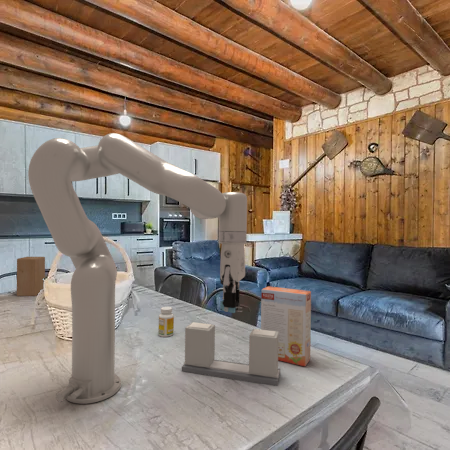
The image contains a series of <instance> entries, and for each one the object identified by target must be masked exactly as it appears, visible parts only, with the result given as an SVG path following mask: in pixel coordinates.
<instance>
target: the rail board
mask: <svg viewBox="0 0 450 450" xmlns="http://www.w3.org/2000/svg"><path fill="white" fill-rule="evenodd" d="M184 329H185V330H184V331H185V333H184V334H185V335H184V337H185V338H184V362H183V365H181V372H185V373H192V374H198V375H204V376H209V377H210V376H211V377H216V378H225V379H230V380H237V381H243V382H244V381H245V382H248V383H249V382H250V383H254V384H255V383H256V384H263V385H270V386H276V387H278V385H279V381H280V380H279V379H280V376H281V368H279V360H278V337H279V332H276V331H269V330H261V328H260V329H257V328H253V329H251V332H250V333H249V344H248V345H249V347H248V363H241V362H233V361H227V360H220V359H215V353H216V351H215V349H216V347H215V346H216V345H215V344H216V342H215V341H216V339H215V338H216V336H215V335H216V334H215V333H216V324H211V323H202V322H193V321H192V322H191V323H189V324H188V325H187V326H186V327H185V328H184Z"/></svg>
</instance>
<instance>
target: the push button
mask: <svg viewBox="0 0 450 450" xmlns="http://www.w3.org/2000/svg"><path fill="white" fill-rule="evenodd" d="M223 280H224V279H223ZM219 281H220V285H222V298H221V299H222V300H220V302H219V303H220V305H219V308H220V309H219V310H220V311H221V312H225V313H231V314H235V313H238V312H240V313H242V312H243V310H240V309H243V307H241V306H239V304H240V301H239V302H237V301H236V307H235V308H228V307H224V285H223V282H224V281H222V280H221V278H220V277H219ZM230 281H233V279H232V278H230ZM230 284H231V285H232V283H230ZM237 284H238V282H236V280H235V292H236V285H237Z"/></svg>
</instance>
